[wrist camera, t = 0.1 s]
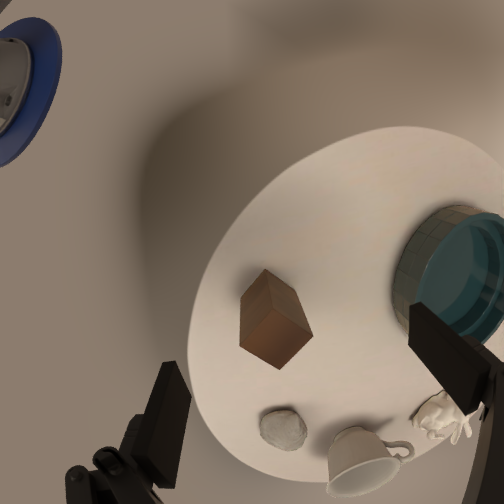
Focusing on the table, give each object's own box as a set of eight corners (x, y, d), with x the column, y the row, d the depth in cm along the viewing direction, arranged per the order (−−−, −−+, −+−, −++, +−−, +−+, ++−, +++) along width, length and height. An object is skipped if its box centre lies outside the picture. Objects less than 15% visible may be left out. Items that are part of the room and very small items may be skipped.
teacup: (398, 434, 43) (417, 471, 33) (323, 463, 44) (333, 504, 34) (394, 396, 40) (419, 438, 30) (307, 430, 41) (318, 478, 31)
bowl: (386, 218, 32) (411, 229, 26) (494, 196, 31) (523, 202, 26) (391, 355, 37) (408, 380, 32) (488, 316, 37) (509, 332, 31)
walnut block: (240, 298, 34) (239, 346, 25) (265, 268, 33) (273, 308, 24) (270, 318, 35) (279, 370, 25) (295, 290, 34) (313, 336, 25)
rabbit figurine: (461, 374, 40) (488, 406, 30) (463, 395, 42) (487, 426, 32) (405, 411, 41) (427, 450, 32) (412, 430, 43) (432, 465, 34)
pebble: (319, 420, 40) (325, 443, 36) (281, 444, 42) (283, 467, 37) (282, 396, 39) (286, 421, 34) (243, 423, 40) (243, 448, 35)
